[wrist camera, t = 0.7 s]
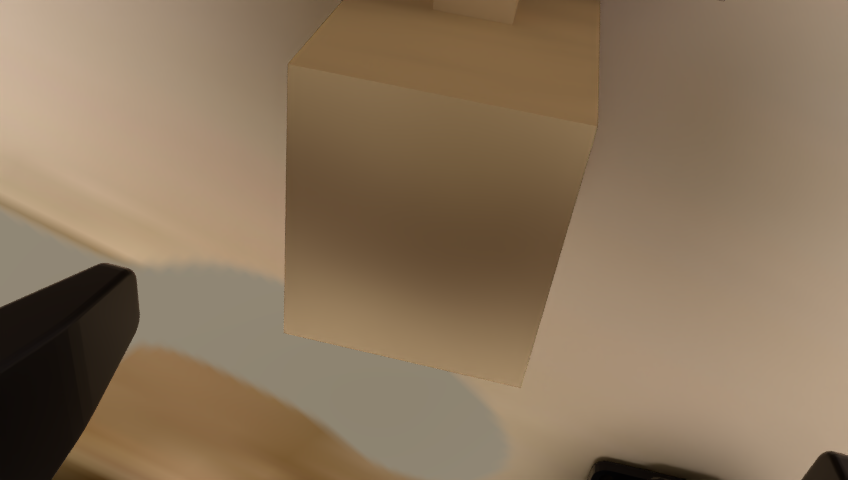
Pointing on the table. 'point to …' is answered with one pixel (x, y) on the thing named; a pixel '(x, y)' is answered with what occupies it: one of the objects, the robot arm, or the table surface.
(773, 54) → the table surface
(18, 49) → the table surface
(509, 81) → the wooden mallet
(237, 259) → the table surface
